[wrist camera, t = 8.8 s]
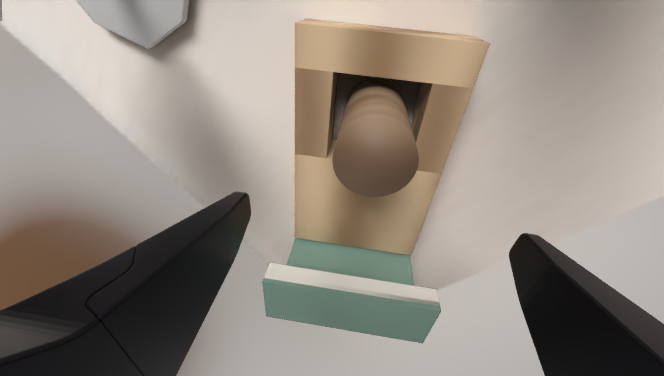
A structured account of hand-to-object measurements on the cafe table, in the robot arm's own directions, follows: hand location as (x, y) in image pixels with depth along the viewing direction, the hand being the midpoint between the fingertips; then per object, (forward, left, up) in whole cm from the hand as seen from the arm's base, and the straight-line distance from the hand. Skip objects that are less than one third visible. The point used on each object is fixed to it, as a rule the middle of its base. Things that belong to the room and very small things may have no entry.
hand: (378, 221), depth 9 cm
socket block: (0, +3, -12) cm, 13 cm away
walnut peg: (0, 0, -12) cm, 12 cm away
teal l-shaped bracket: (0, +11, -12) cm, 17 cm away
